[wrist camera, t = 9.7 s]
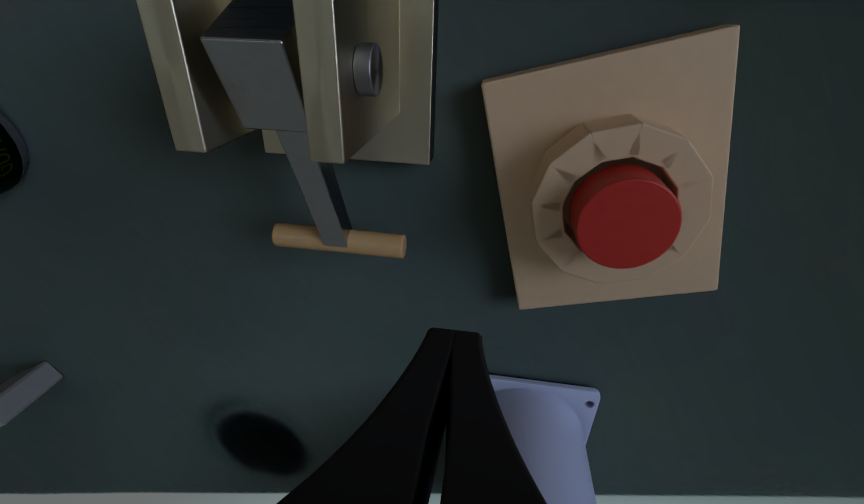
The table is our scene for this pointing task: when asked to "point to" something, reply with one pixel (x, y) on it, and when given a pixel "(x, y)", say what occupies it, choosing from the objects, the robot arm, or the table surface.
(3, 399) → the lighter
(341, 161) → the bracket
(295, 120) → the lever
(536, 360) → the table surface
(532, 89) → the control block
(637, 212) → the button
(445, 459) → the robot arm
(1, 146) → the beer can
